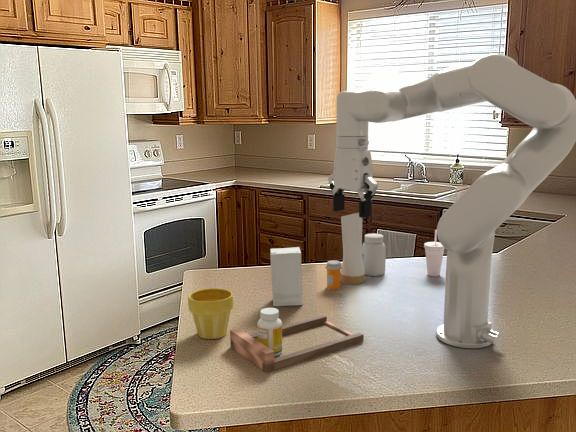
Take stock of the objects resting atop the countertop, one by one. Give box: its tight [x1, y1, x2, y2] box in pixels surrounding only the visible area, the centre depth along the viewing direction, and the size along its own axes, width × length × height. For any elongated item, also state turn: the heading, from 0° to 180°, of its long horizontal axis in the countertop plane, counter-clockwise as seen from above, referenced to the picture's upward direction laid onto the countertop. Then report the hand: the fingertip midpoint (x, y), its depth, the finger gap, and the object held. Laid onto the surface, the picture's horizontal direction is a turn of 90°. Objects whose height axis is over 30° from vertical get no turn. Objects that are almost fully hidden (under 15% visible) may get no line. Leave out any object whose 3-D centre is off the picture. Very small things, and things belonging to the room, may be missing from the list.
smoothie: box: [423, 229, 445, 277], centre depth 177 cm, size 6×6×14 cm
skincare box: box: [269, 246, 304, 307], centre depth 154 cm, size 8×6×15 cm
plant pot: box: [187, 287, 234, 340], centre depth 135 cm, size 10×10×10 cm
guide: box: [229, 314, 365, 373], centre depth 129 cm, size 15×26×4 cm, turn 124°
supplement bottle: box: [256, 307, 283, 358], centre depth 124 cm, size 5×5×10 cm
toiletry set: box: [324, 212, 387, 291], centre depth 173 cm, size 25×8×21 cm, turn 135°
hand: (351, 213), depth 141 cm, fingers open, 9 cm apart
